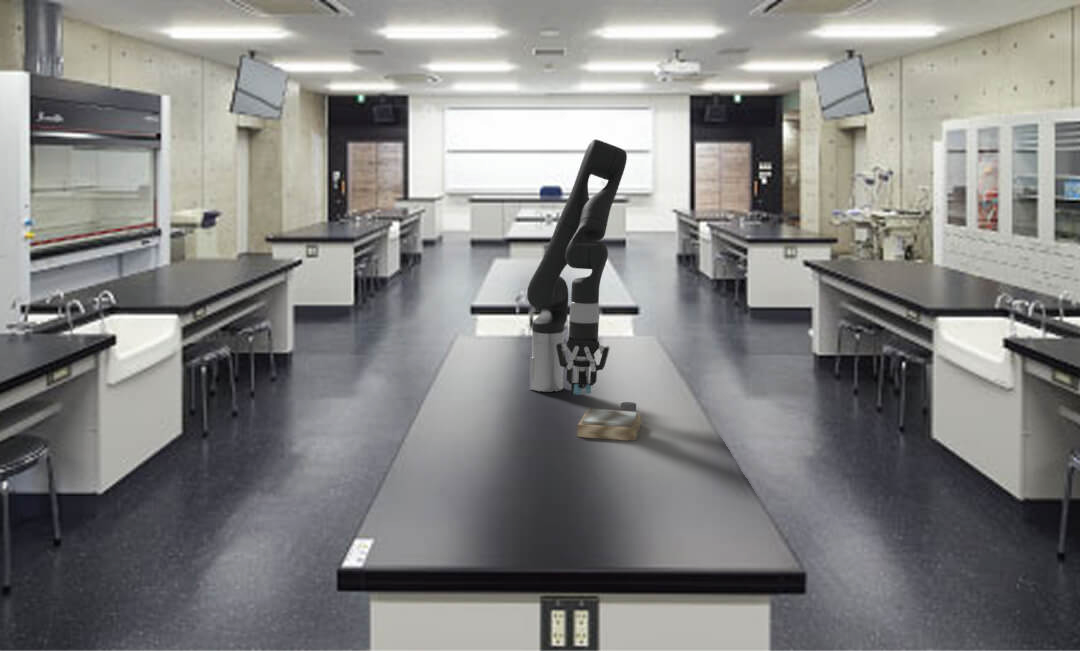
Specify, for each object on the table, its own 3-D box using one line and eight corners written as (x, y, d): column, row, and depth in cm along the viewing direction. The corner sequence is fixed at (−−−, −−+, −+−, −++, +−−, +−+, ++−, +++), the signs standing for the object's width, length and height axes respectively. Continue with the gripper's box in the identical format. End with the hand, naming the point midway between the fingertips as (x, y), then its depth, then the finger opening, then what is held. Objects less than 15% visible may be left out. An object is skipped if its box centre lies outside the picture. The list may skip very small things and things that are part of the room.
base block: (577, 436, 233) (577, 421, 232) (586, 421, 246) (586, 407, 246) (634, 440, 230) (635, 425, 229) (641, 425, 244) (641, 411, 243)
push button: (589, 389, 252) (591, 352, 250) (599, 394, 247) (601, 356, 246) (567, 391, 249) (568, 354, 247) (576, 396, 245) (578, 358, 243)
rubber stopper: (619, 420, 249) (619, 405, 248) (621, 416, 252) (621, 401, 252) (634, 421, 248) (635, 406, 247) (636, 417, 252) (637, 402, 251)
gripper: (553, 319, 243) (551, 385, 246) (609, 323, 240) (606, 389, 243) (559, 315, 250) (557, 378, 253) (614, 318, 247) (611, 383, 250)
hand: (581, 383), depth 248 cm, fingers closed on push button, 5 cm apart
